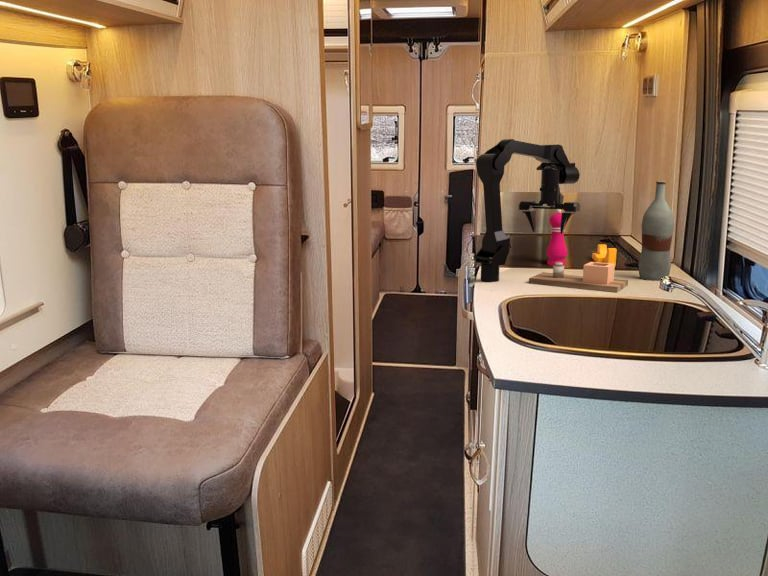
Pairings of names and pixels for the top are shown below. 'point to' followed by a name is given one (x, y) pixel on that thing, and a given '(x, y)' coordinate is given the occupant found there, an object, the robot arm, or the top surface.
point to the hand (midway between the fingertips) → (547, 232)
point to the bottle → (656, 237)
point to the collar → (598, 272)
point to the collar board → (574, 280)
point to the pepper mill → (556, 241)
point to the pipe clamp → (605, 254)
